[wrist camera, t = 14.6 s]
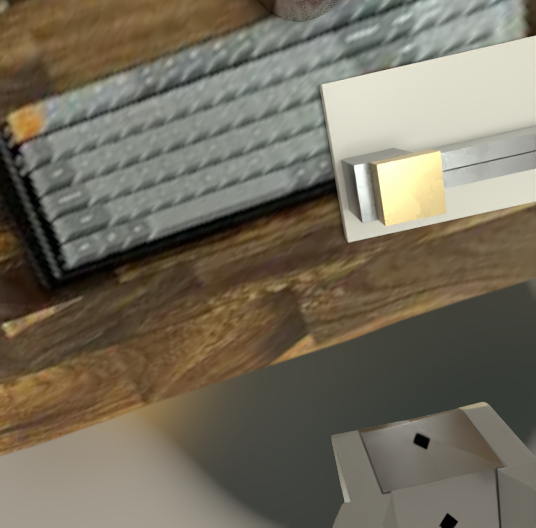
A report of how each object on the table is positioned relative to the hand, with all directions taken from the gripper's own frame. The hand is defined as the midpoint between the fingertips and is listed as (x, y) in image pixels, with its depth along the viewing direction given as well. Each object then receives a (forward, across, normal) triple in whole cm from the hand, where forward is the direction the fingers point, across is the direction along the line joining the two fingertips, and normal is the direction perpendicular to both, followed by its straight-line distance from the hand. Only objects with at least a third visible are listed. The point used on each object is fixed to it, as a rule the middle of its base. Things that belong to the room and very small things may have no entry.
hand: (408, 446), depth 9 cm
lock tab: (+24, -8, 0) cm, 25 cm away
